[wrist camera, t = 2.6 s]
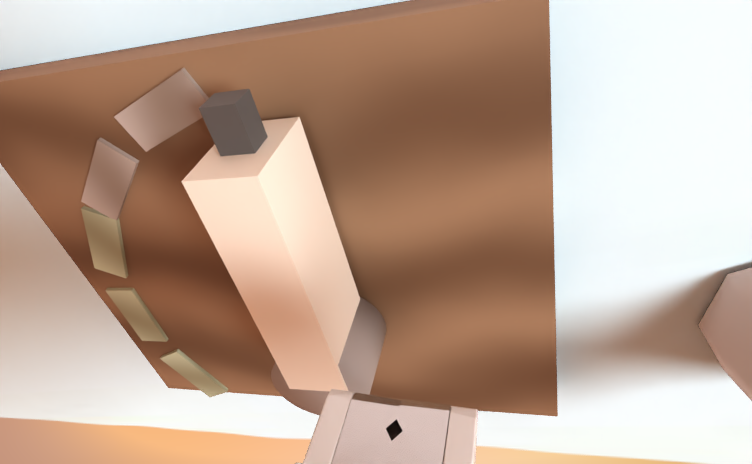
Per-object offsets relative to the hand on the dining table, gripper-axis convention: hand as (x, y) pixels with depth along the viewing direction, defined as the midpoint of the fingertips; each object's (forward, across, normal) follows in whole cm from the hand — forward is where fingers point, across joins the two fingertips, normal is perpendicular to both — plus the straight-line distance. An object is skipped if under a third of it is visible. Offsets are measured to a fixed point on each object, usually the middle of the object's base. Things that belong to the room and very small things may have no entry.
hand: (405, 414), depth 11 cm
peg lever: (+9, +6, +3) cm, 11 cm away
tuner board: (+11, +7, +5) cm, 14 cm away
